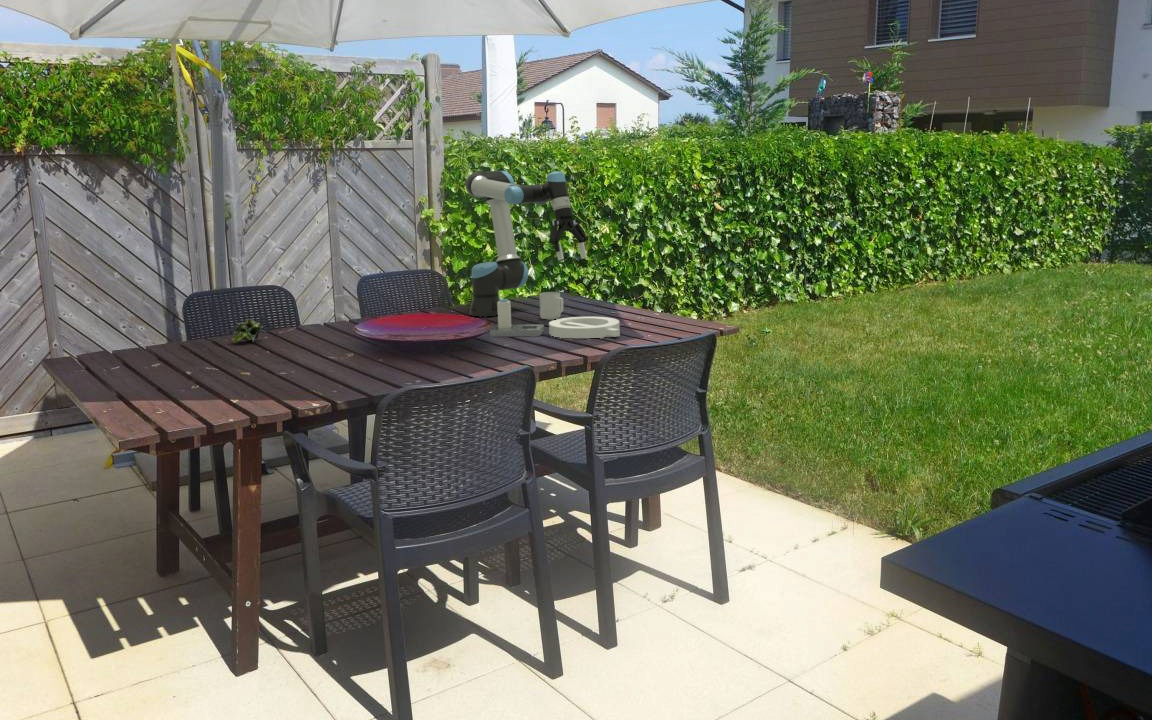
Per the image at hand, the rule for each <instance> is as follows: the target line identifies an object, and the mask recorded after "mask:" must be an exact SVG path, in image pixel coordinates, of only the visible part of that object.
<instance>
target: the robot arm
mask: <svg viewBox="0 0 1152 720" xmlns="http://www.w3.org/2000/svg"><path fill="white" fill-rule="evenodd" d="M565 176H566V175H565V174H564V172H563V171H560V170H559V171H552V172H550V173H548V174H546V182H545V183H542V184H528V185H527V184H526V185H524V184H523V185H522V184H521V185H520V184H515V181H514V180H515V179H514V178H513V177H512V175H511V174H510V173H509V172H507V171H505V170H486V171H485V170H483V171H481V170H479V171H474V172H473V173H471V174H470V175H468V176H467V178H466V180H465V184H464V185H465V189H466V192H467V193H468V195H470V196H472V197H474V198H480V199H481V198H485V202H486V204H488V205H489V206H490V212H491V213H490V214H491V218H492V226H493V227H492V228H493V232H494V238H495V239H494V240H495V246H496V252H497V258H496V260H495V261H487V262H480V263H477V264H475V265H473V266H472V268H471V284H472V285H471V289H472V301H471V304H470V308H469V316H470V315H472V316H479V317H478V318H488V317H487V316H494V317H497V316H496V315H498V309H497V302H499V300H500V297H499V296H500V295H499V291H502V290H503V291H504V290H515V289H520V288H523V287H524V286H525V285H526V283H527V281H528V278H529V268H528V266H527V265H526V263H525V262H523V261H522V259H521V256H519V255H518V253H517V247H516V246H517V245H516V241H515V235H514V234H515V233H514V228H513V222H512V214H511V209H510V205H519V204H520V205H521V204H535V205H537V206H542V205H546V204H547V203H548V202H549V203H550V201H551V206H552V210H553V214H554V219H555V220H552V221H551V230H550V236H549V240H548V241H549V244H551V245H552V246H554V251H555V253H556V255H557V256H556V257H557V260H558V261H562V260H565V258H564V257H565V256H564V253H563V252H564V251H563V247H562V243H561V242H560V241H561V238H562V235H563V233H564V232H569V233H570V234H572V236H573V237H574V239H576V241H577V242H578V243H577V245H578V250H579V253H580V259H581V260H583V259H586V258H587V257H588V256H587V251H586V250H587V247H586V242H587V241H588V239H589V238H588V237H587V235H586V233H585V231H584V229H583V228H582V226H581V225H580V222H579V219H577V218H576V219H574V220H573V215H574V214H573V210H572V207H571V206H572V205H571V201H570V200H571V199H570V196H569V191H568V186H567V180H566V177H565ZM472 316H471V317H472ZM482 316H484V317H482Z"/></svg>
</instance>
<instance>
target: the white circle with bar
mask: <svg viewBox="0 0 1152 720" xmlns="http://www.w3.org/2000/svg"><path fill="white" fill-rule="evenodd" d="M620 330H621V329H620V320H619V319H616V318H613V317H606V316H570V317H563V318H559V319H556V320H550V321H549V322H548V333H549V334H550V335H551V336H550V335H549V336H550V337H552V336H554V337H553V338H555V337H560V338H559V339H561V338H600V339H605V338H604V337H607V338H612V337H613V338H615V337H620V336H621V331H620Z"/></svg>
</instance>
